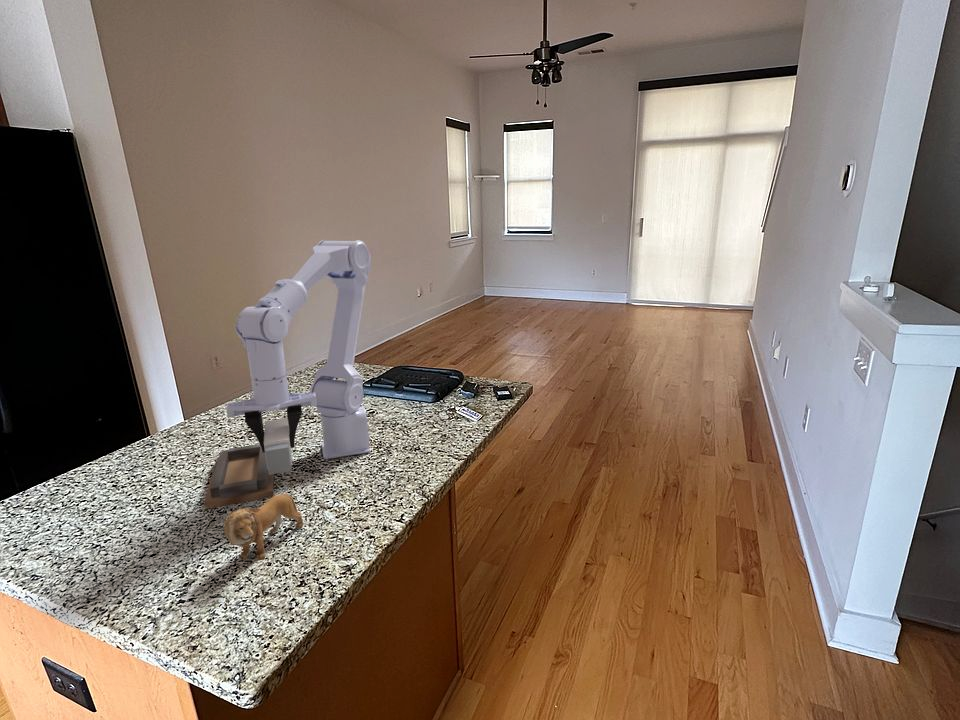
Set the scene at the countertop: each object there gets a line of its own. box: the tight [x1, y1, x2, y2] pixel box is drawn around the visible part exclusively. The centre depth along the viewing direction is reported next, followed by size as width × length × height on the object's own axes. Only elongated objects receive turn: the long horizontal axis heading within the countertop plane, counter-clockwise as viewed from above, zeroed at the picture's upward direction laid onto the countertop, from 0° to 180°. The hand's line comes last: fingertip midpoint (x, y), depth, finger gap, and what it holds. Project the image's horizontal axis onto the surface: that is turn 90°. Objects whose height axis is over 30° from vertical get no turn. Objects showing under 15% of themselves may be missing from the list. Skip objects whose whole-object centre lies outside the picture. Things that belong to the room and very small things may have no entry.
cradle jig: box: [203, 443, 275, 510], centre depth 98 cm, size 11×18×3 cm, turn 20°
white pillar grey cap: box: [263, 417, 293, 475], centre depth 91 cm, size 4×12×5 cm, turn 21°
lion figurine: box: [223, 493, 304, 560], centre depth 78 cm, size 15×5×9 cm, turn 165°
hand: (278, 447), depth 92 cm, fingers closed on white pillar grey cap, 4 cm apart
